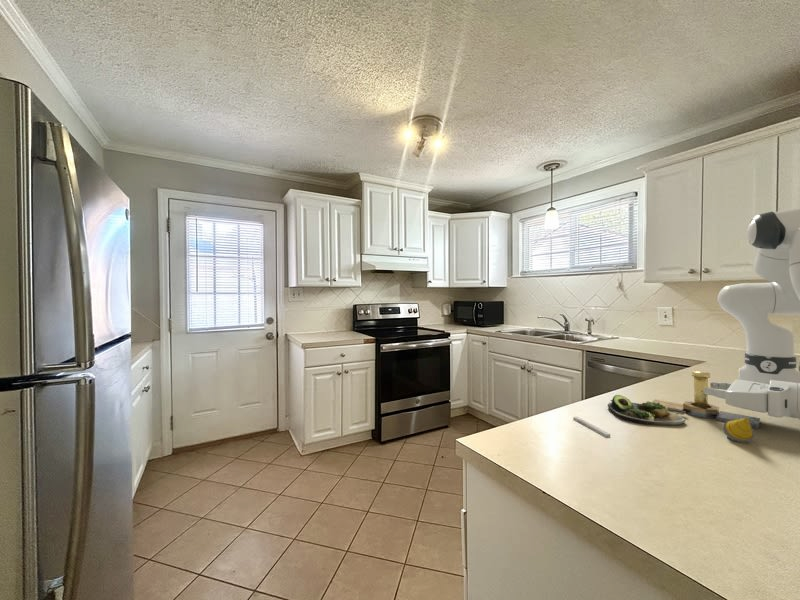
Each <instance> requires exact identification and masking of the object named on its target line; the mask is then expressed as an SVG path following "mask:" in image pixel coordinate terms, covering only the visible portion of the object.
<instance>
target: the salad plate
mask: <svg viewBox="0 0 800 600" xmlns="http://www.w3.org/2000/svg"><path fill="white" fill-rule="evenodd" d="M666 406H667V405H666V404H665V405H664V406H663V405H660V403H653V402H652V401H649V400H648V401H646V402H642V403H638V402H637V403H636V402H632V401H631V400H630V399H629V398H627V397H626V396H623V395H620V394H615V395H613V397H612V399H610V402H608V404H607V407H608V409H609V411H610V413H612V414H613V415H614V416H615V417H617V418H618V419H621V420H623V421H626V422H631V423H633V424H641V425H653V426H654V425H656V426H679V425H682V424H684V423H685V422H686V419H685V417H682V416H680V415H681V414H687V413H686V411H681V410H675V409H670V408H668V407H666ZM656 419H661V420H662V419H665V420H668V421H659V420H656Z"/></svg>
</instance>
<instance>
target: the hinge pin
mask: <svg viewBox="0 0 800 600" xmlns="http://www.w3.org/2000/svg"><path fill="white" fill-rule="evenodd" d="M691 376H692V377H693V402H694V406H696V407H702V408H708V404H709V395H706V394H705V393H704V389H705V388H706V387H709V383H708V379H710V378H711V373H710V372H707V371H701V370H692V371H691Z"/></svg>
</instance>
